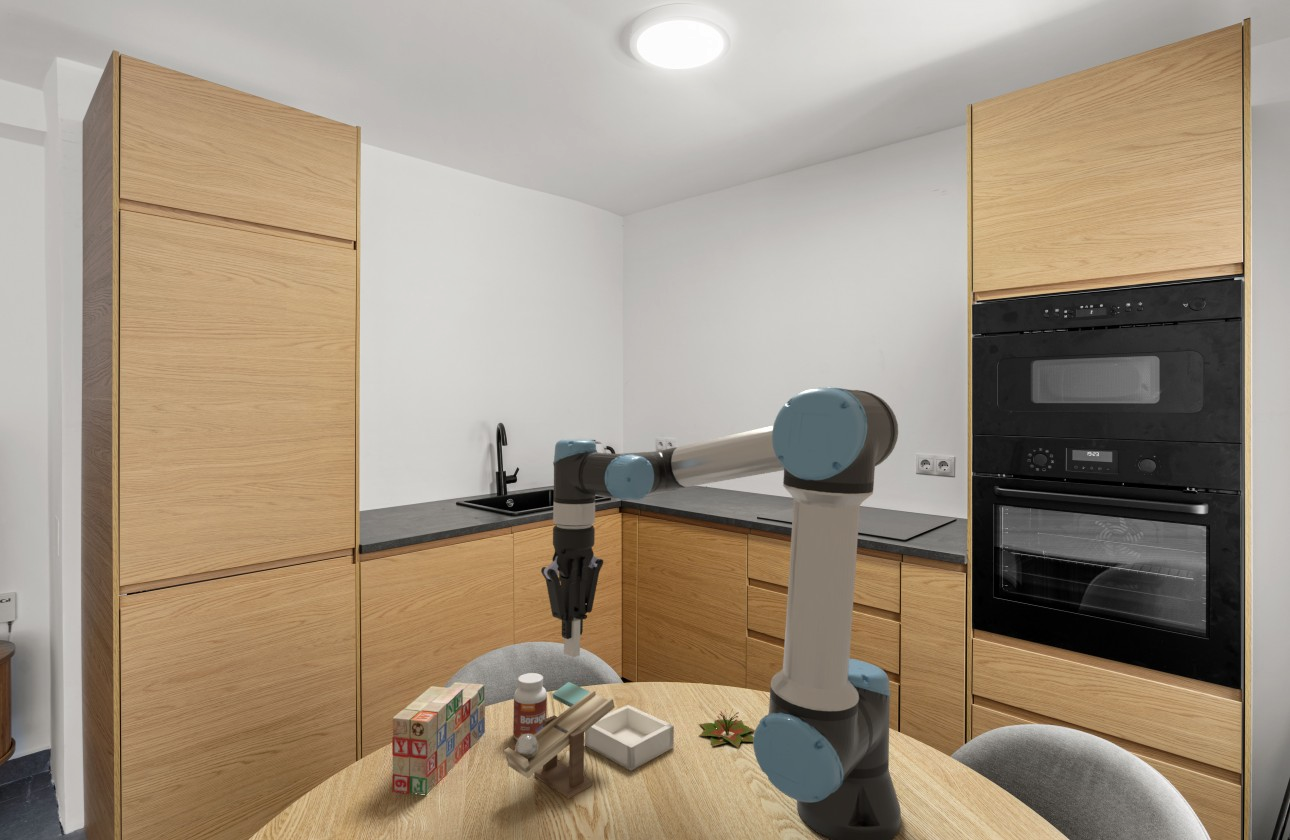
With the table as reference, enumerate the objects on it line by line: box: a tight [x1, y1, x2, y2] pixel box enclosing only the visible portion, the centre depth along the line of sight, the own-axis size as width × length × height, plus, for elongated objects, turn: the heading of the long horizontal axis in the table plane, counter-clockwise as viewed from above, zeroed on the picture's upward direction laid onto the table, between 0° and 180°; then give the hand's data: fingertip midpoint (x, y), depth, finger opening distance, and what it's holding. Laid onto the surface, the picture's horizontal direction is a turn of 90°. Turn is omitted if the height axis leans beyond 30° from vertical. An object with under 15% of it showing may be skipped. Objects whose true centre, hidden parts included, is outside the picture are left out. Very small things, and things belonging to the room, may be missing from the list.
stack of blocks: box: [391, 681, 486, 795], centre depth 113 cm, size 21×6×12 cm, turn 169°
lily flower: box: [698, 708, 756, 750], centre depth 123 cm, size 12×12×5 cm
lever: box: [503, 681, 615, 779], centre depth 109 cm, size 12×19×3 cm, turn 136°
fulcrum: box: [533, 715, 593, 799], centre depth 107 cm, size 9×5×9 cm, turn 46°
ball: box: [515, 734, 539, 759], centre depth 102 cm, size 4×4×4 cm
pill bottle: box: [512, 672, 548, 741], centre depth 122 cm, size 6×6×11 cm
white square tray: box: [584, 704, 675, 772], centre depth 118 cm, size 12×11×4 cm
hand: (571, 654), depth 117 cm, fingers closed
